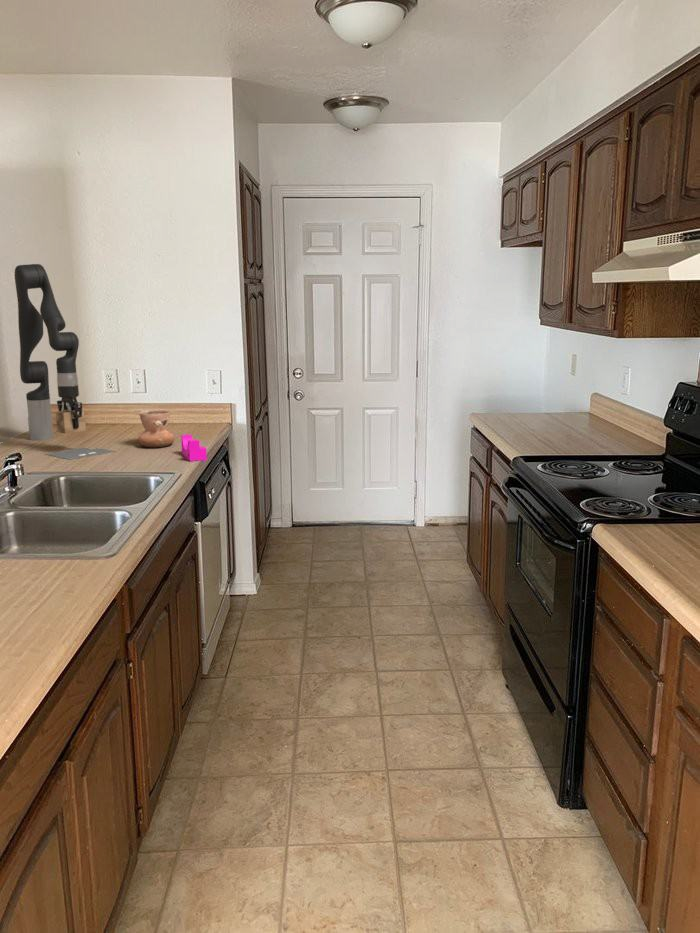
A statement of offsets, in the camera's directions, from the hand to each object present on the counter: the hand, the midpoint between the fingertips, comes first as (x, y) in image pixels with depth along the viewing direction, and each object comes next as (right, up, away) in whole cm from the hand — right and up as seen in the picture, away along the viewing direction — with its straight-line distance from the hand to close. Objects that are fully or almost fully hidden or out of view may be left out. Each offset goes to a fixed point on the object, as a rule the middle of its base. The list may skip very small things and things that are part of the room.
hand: (71, 427), depth 290 cm
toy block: (+50, -12, -8) cm, 52 cm away
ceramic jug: (+30, -7, +13) cm, 34 cm away
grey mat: (+4, -10, -1) cm, 11 cm away
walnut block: (0, -2, 0) cm, 2 cm away
